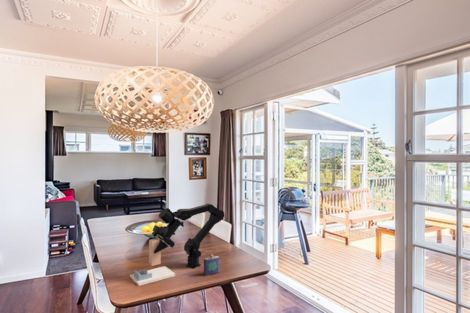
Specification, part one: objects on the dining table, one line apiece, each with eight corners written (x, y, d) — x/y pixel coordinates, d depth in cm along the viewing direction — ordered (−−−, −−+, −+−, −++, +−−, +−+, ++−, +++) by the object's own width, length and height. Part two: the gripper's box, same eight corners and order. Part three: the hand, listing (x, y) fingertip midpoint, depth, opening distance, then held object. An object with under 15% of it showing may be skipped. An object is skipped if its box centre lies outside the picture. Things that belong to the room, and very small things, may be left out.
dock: (164, 268, 169) (165, 260, 169) (175, 275, 159) (175, 268, 159) (130, 276, 157) (130, 269, 157) (138, 285, 147) (138, 277, 147)
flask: (217, 271, 166) (217, 252, 166) (220, 272, 164) (220, 253, 163) (203, 274, 161) (203, 255, 161) (205, 276, 159) (205, 256, 159)
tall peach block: (157, 261, 162) (157, 238, 161) (160, 263, 159) (160, 240, 158) (148, 263, 159) (149, 239, 158) (151, 265, 156) (151, 241, 155)
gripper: (154, 216, 168) (135, 239, 161) (169, 223, 153) (148, 248, 147) (167, 228, 173) (149, 250, 166) (182, 235, 158) (163, 260, 152)
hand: (152, 252), depth 158 cm, fingers closed on tall peach block, 4 cm apart
